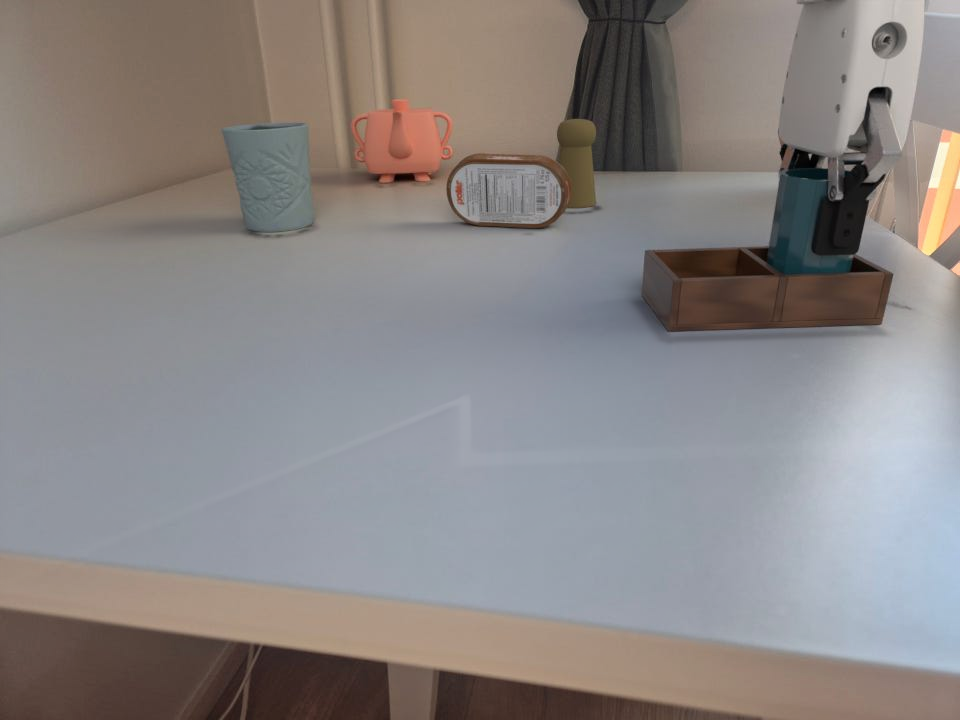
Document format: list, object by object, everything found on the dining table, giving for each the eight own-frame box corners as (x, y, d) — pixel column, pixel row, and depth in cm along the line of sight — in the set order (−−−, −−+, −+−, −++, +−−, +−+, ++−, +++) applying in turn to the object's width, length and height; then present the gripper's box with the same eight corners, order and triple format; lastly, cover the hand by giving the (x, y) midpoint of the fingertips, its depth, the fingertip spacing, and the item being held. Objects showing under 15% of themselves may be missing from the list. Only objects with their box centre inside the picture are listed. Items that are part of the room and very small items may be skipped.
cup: (823, 265, 56) (843, 166, 53) (862, 288, 51) (886, 179, 48) (752, 267, 56) (767, 168, 53) (783, 290, 51) (802, 181, 48)
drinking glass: (257, 237, 80) (240, 131, 75) (226, 223, 88) (208, 126, 83) (334, 223, 86) (322, 124, 81) (298, 211, 93) (286, 119, 88)
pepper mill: (604, 205, 92) (608, 119, 88) (565, 209, 90) (567, 122, 86) (582, 197, 97) (585, 116, 93) (544, 201, 95) (545, 119, 91)
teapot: (409, 167, 127) (404, 95, 121) (470, 176, 116) (468, 97, 111) (342, 178, 117) (333, 100, 112) (402, 189, 106) (395, 103, 101)
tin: (570, 225, 82) (573, 153, 79) (566, 231, 79) (568, 157, 76) (452, 220, 86) (450, 152, 83) (445, 226, 83) (441, 155, 80)
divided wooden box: (827, 289, 59) (836, 243, 57) (881, 324, 51) (894, 273, 49) (641, 295, 58) (644, 249, 57) (668, 331, 51) (673, 280, 49)
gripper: (1013, -41, 37) (929, 274, 45) (849, -13, 53) (808, 216, 60) (878, -38, 37) (817, 277, 45) (754, -11, 53) (724, 218, 60)
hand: (812, 240), depth 52 cm, fingers closed on cup, 6 cm apart
